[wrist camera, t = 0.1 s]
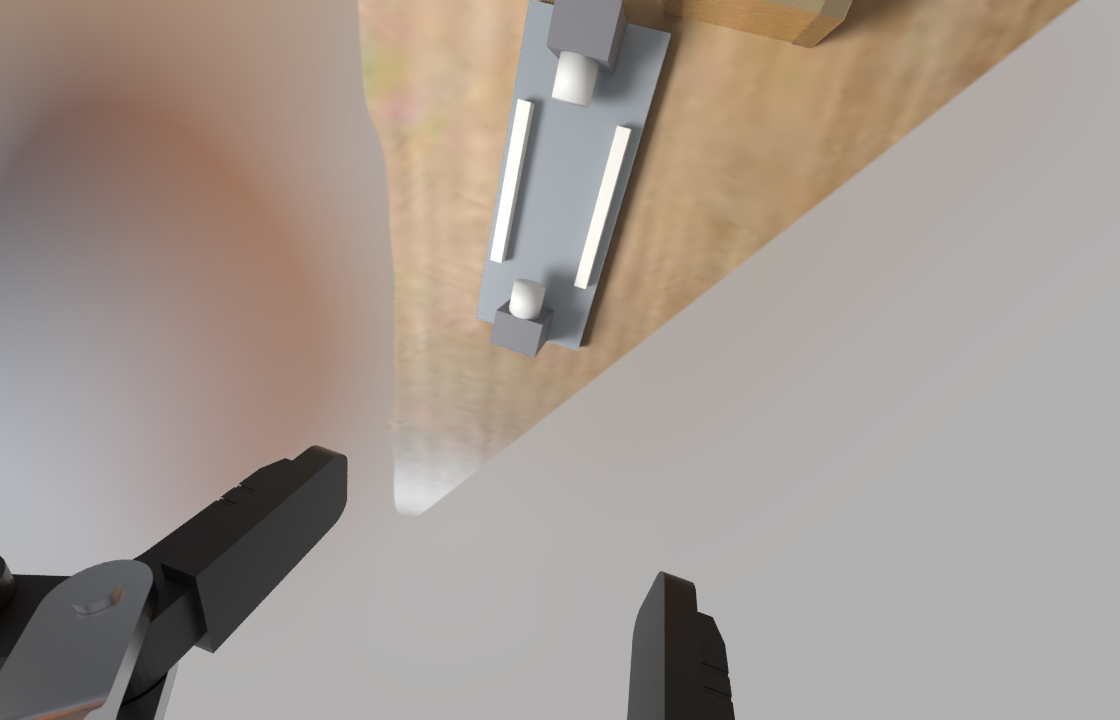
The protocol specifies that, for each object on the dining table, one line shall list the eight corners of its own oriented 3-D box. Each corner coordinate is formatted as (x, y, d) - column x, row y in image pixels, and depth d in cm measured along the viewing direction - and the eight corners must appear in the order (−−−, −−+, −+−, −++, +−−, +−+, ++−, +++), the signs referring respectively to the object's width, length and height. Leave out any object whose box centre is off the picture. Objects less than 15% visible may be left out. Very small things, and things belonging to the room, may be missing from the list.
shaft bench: (533, 4, 30) (510, -27, 25) (670, 37, 29) (672, 12, 24) (480, 314, 40) (456, 332, 36) (579, 346, 39) (568, 369, 35)
